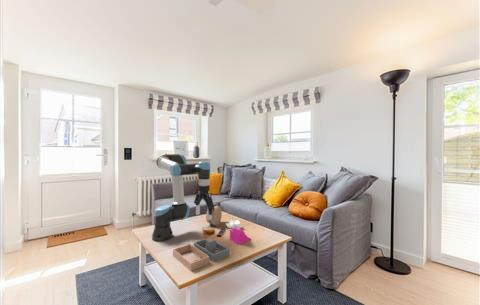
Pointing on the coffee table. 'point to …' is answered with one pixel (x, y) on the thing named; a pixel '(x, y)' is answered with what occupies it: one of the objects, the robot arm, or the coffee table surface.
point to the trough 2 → (212, 257)
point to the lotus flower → (233, 224)
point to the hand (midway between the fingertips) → (203, 216)
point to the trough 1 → (203, 256)
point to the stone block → (211, 245)
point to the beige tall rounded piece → (215, 215)
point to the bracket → (238, 236)
